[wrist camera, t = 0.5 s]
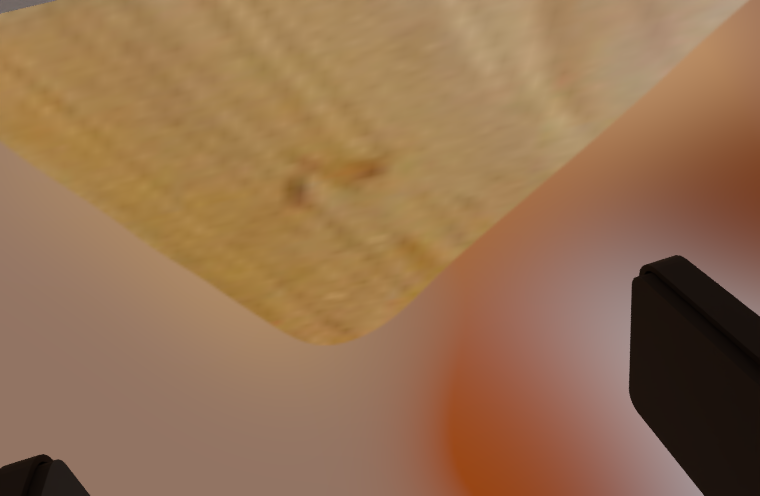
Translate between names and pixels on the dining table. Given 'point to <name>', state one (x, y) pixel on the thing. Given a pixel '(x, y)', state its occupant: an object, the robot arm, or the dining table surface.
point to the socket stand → (18, 4)
